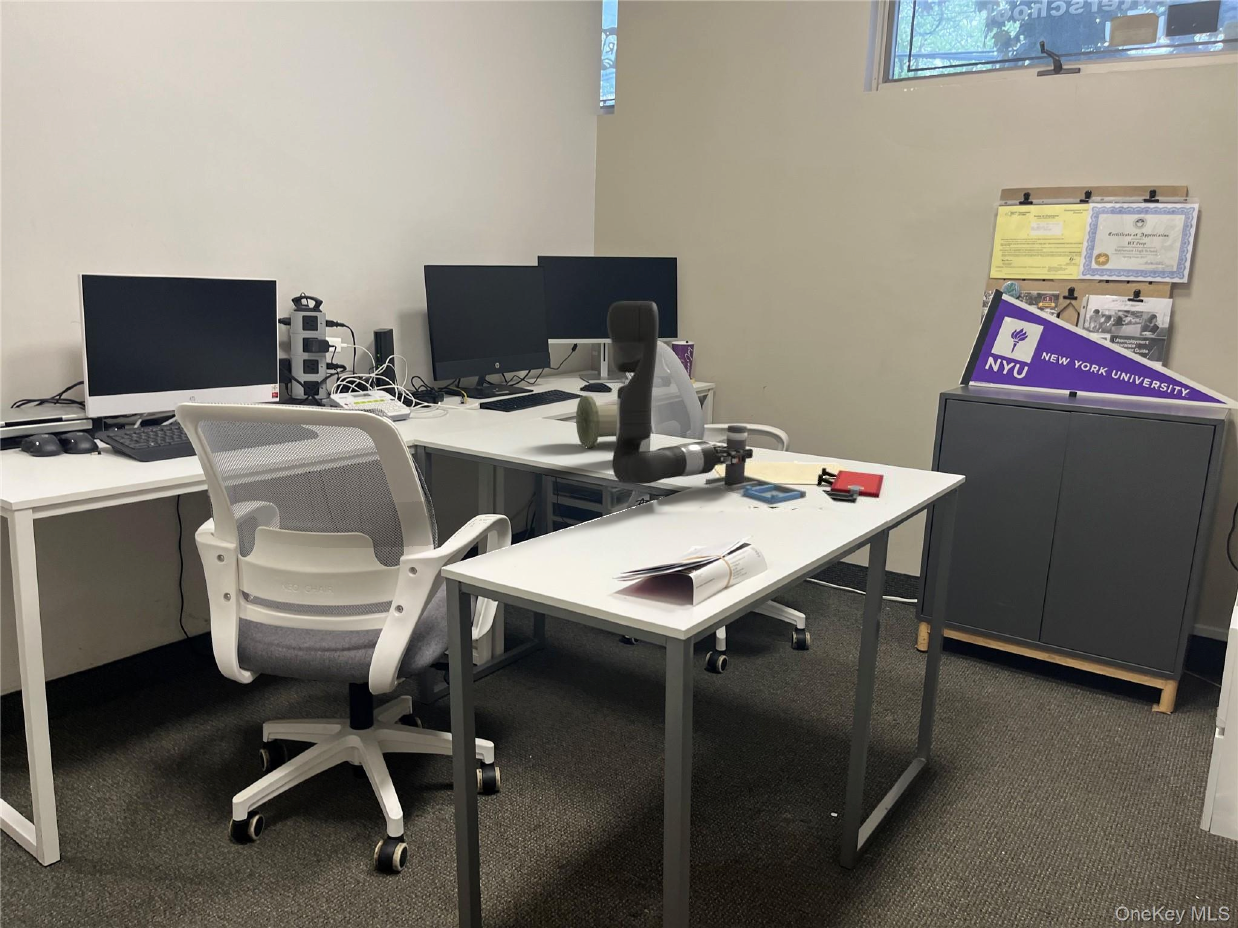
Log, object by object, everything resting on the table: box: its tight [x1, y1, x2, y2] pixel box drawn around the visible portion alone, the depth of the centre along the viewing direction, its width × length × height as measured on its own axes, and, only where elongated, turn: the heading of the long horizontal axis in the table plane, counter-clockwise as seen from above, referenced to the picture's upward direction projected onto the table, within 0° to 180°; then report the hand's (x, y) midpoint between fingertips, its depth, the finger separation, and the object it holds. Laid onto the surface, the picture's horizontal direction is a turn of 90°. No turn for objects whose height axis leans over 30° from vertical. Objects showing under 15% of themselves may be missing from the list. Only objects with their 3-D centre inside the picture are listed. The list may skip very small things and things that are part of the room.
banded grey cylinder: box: [724, 424, 748, 486], centre depth 212 cm, size 5×5×14 cm
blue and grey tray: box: [704, 474, 807, 510], centre depth 208 cm, size 22×11×3 cm, turn 38°
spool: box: [575, 394, 617, 449], centre depth 261 cm, size 16×15×15 cm
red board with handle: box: [816, 467, 884, 501], centre depth 218 cm, size 30×3×15 cm
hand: (743, 451), depth 213 cm, fingers closed on banded grey cylinder, 4 cm apart
